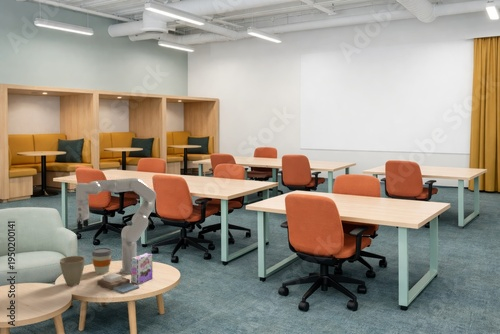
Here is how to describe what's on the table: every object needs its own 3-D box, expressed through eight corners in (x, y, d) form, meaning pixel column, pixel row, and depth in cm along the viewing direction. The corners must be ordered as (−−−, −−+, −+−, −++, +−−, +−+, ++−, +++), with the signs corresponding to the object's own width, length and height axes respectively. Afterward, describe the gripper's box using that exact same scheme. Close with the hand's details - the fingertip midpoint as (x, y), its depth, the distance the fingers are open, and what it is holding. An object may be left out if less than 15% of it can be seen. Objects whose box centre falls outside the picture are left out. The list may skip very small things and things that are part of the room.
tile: (113, 276, 293) (113, 272, 293) (121, 279, 288) (121, 275, 288) (103, 280, 286) (103, 276, 286) (111, 282, 282) (111, 278, 281)
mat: (128, 284, 288) (128, 282, 288) (139, 288, 282) (139, 286, 282) (112, 289, 278) (112, 288, 278) (123, 293, 272) (123, 292, 272)
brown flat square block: (115, 279, 297) (115, 274, 296) (129, 284, 288) (129, 279, 288) (97, 285, 285) (97, 280, 285) (111, 290, 277) (111, 285, 277)
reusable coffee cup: (108, 274, 305) (107, 253, 304) (89, 274, 305) (89, 252, 304) (114, 269, 318) (113, 247, 316) (96, 268, 318) (95, 247, 317)
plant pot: (66, 279, 295) (66, 255, 293) (89, 280, 294) (88, 256, 293) (55, 287, 280) (55, 262, 279) (79, 288, 279) (78, 263, 278)
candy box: (137, 284, 288) (137, 259, 286) (130, 282, 291) (130, 257, 289) (152, 278, 300) (152, 254, 298) (146, 276, 303) (146, 252, 301)
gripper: (83, 204, 287) (83, 231, 288) (93, 199, 304) (93, 225, 305) (71, 204, 287) (71, 231, 288) (81, 199, 304) (82, 225, 306)
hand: (83, 228), depth 297 cm, fingers open, 9 cm apart
